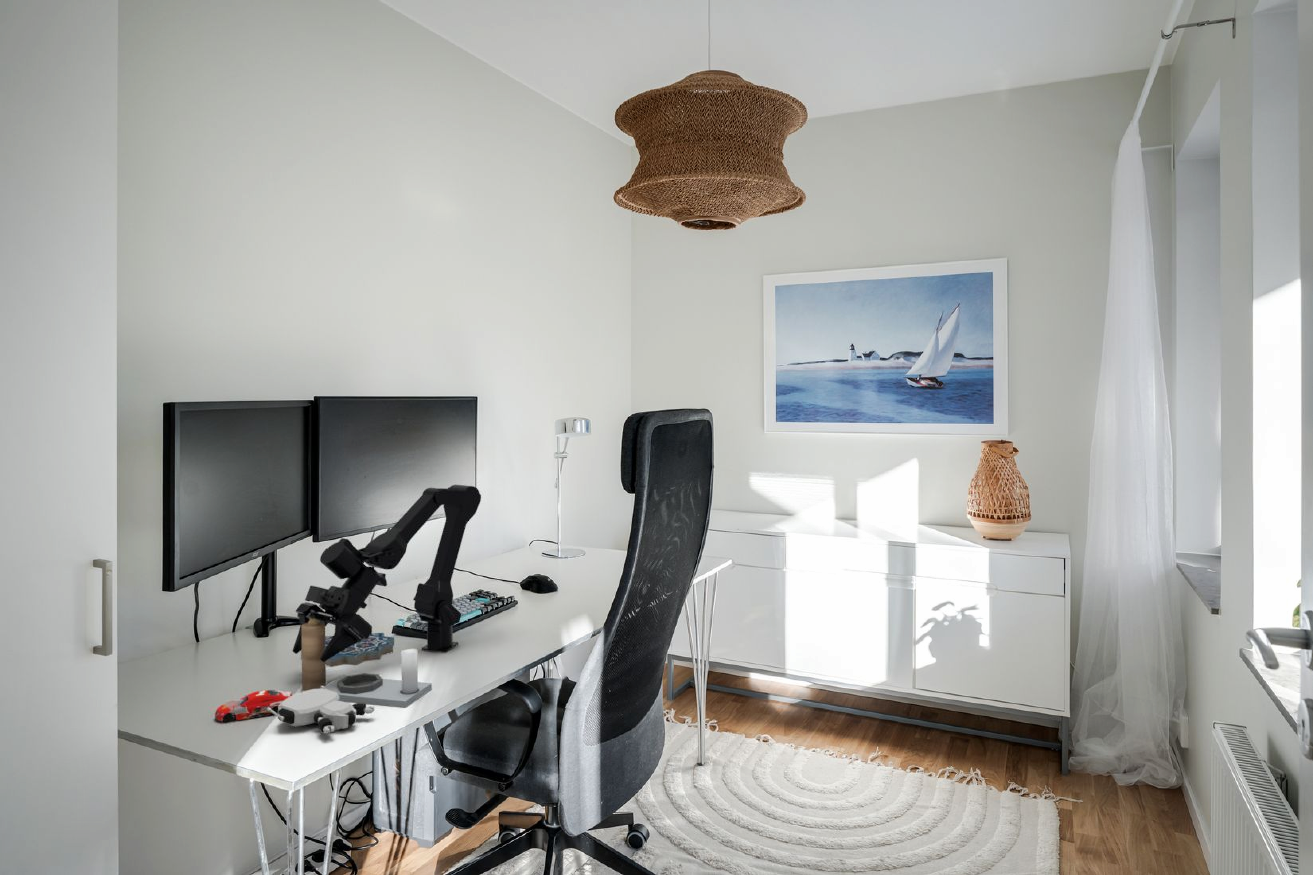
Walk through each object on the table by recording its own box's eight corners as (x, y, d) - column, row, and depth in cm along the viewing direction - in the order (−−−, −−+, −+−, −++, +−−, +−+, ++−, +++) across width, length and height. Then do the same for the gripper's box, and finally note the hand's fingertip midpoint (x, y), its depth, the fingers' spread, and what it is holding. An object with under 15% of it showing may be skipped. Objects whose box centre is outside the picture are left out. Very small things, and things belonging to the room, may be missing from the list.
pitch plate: (344, 680, 163) (343, 637, 162) (431, 688, 158) (431, 644, 158) (313, 698, 153) (312, 651, 153) (405, 707, 149) (405, 659, 148)
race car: (213, 726, 140) (213, 704, 140) (216, 716, 145) (215, 694, 145) (294, 714, 146) (294, 693, 146) (294, 704, 151) (293, 683, 150)
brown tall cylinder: (311, 683, 161) (310, 615, 161) (330, 684, 160) (329, 616, 160) (297, 690, 157) (296, 620, 156) (316, 692, 156) (315, 622, 155)
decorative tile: (369, 635, 196) (369, 626, 196) (409, 653, 182) (409, 643, 182) (287, 653, 181) (287, 643, 181) (324, 674, 168) (324, 663, 167)
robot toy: (378, 723, 144) (318, 704, 150) (380, 699, 143) (319, 681, 149) (326, 749, 133) (263, 728, 138) (327, 723, 132) (264, 703, 138)
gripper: (303, 564, 166) (253, 627, 157) (359, 575, 156) (309, 643, 147) (336, 593, 173) (290, 656, 164) (392, 606, 163) (346, 673, 154)
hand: (307, 656), depth 157 cm, fingers open, 9 cm apart
